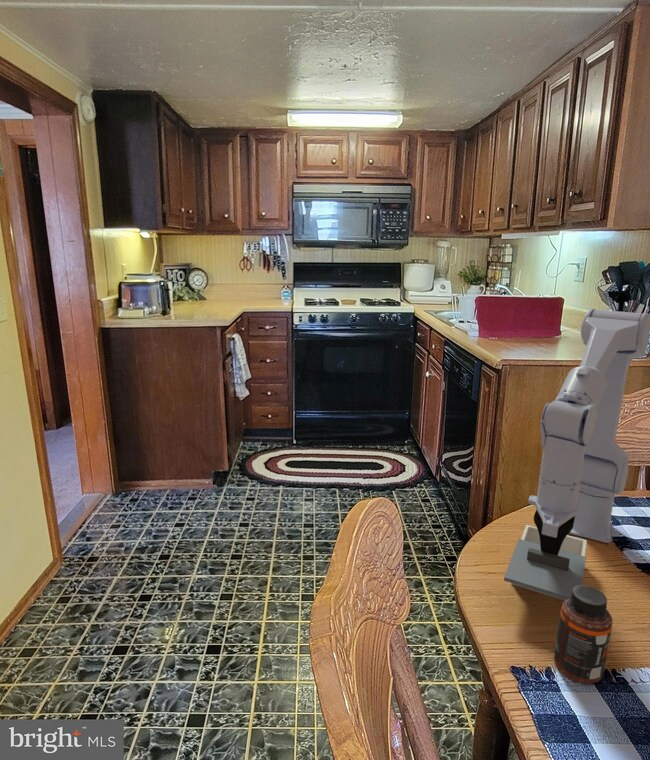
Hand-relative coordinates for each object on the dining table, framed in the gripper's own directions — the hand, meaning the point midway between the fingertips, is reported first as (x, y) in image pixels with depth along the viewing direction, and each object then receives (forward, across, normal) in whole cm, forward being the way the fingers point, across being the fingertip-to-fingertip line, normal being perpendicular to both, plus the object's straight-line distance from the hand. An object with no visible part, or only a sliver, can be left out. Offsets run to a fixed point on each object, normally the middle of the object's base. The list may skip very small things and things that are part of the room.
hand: (549, 555), depth 82 cm
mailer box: (+6, -5, 0) cm, 8 cm away
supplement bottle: (+7, +15, +6) cm, 17 cm away
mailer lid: (+1, +3, 0) cm, 3 cm away
